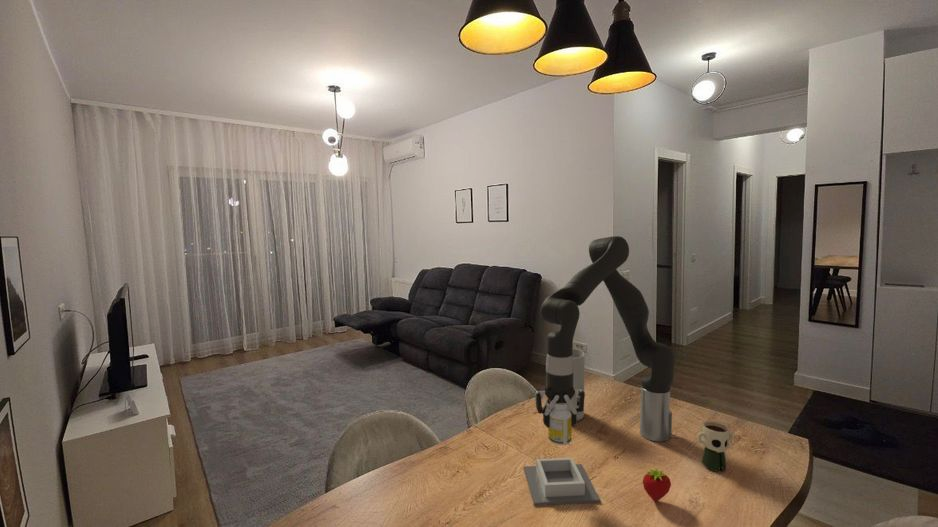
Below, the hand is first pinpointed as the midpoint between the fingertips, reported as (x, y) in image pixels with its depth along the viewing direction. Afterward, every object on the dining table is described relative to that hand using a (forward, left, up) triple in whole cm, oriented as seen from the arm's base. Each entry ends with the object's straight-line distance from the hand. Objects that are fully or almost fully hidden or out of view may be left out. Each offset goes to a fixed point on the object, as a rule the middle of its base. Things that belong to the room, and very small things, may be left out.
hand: (559, 425), depth 114 cm
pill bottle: (0, 0, -5) cm, 5 cm away
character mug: (-49, -5, -18) cm, 52 cm away
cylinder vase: (-14, -41, -18) cm, 47 cm away
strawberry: (-24, +9, -18) cm, 31 cm away
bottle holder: (0, 0, -18) cm, 18 cm away
